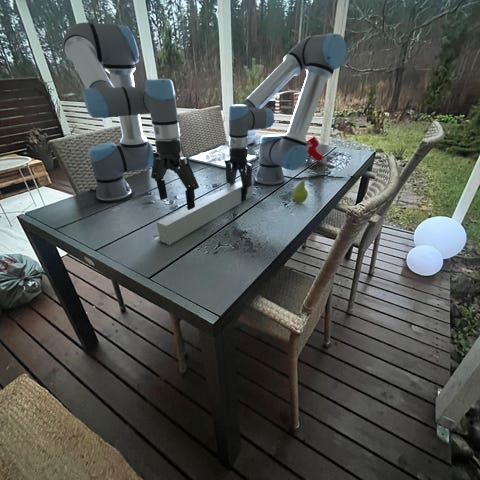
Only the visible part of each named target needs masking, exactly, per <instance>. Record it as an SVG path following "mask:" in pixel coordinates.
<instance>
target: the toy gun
mask: <svg viewBox="0 0 480 480" xmlns="http://www.w3.org/2000/svg"><path fill="white" fill-rule="evenodd" d="M306 141H307V144H306V148H307V153H308V156H307V159H308V158H309V157H312V158H313V159H314V160H315V161H316V163H319V162H321V161H323V158H324V154H323V153H321V152H320V151H319V150H318V149H317V147H319V144H320V141H319V140H318V138H317V137H316V136H315V135H313V136H312V137H310V138H309V139H306ZM317 160H319V162H318V161H317ZM320 160H321V161H320Z"/></svg>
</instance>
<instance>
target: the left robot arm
mask: <svg viewBox="0 0 480 480" xmlns="http://www.w3.org/2000/svg"><path fill="white" fill-rule="evenodd" d="M62 48H63V52H64V55H65V56H66V59H67V61H69V62H70V64H72V65H73V66H74V67H75V70H76V72H77V73H78V75H79V77H80V80H81V81H82V84H83V86H84V89H83V90H82V98H83V101H84V105H85V108H86V111H87V113H88V116H90V117H91V118H93V119H108V118H117V117H118V120H119V126H120V131H121V134H122V135H121V136H122V137H121V139H120V140H119V142H120V145H117V144H116V143H114V142H104V143H100V144H97V145H94V146H92V147H91V148H89V149H88V152H87V154H88V158H89V162H90V164H91V168H92V171H93V175H94V179H95V181H96V189H93V188H89V189H88V190H89V191H92V192H96V193H95V196H96V199H97V201H98V202H101V203H106V204H107V203H117V202H122V201H125V200H128V199H129V198H130V197H131V196H132V195H133V193H132V189H131V187H130V185H129V183H128V182H127V181H126V178H125V177H124V173H128V172H134V171H141V170H145V169H150V168H151V173H150V177H151V179H153V180H154V181H155V182H156V186H157V187H156V188H157V190H158V196H159V200H160V201H164V200H165V199H168V191H167V187H166V180H165V178H164V177H165V175H166V173H167V171H168V170H170V171H172V172H174V174H176V175H177V177H178V178H179V179H180V181H181V182H182V184H183V186H184V187H185V190H184V192H185V193H184V194H185V201H186V207H187V209H188V210H190V209H192V208H194V207H195V203H196V202H195V199H196V194H195V190H197V189H199V188H200V185H199V183H198V180H197V179H196V176H195V174H194V171H193V169H192V167H191V165H190V160H189V157H188V156H185V157H182V156H181V152H182V151H183V150H182V141H181V139H180V137H181V132H180V125H179V119H178V109H177V101H176V92H175V88H174V82H173V81H172V80H171V79H170V78H151V79H149V78H148V79H146V80H145V83H144V85H140V86H135V80H134V74H133V73H134V72H135V70H136V64H139V61H140V57H139V56H140V54H139V49H138V45H137V42H136V39H135V36H134V33H133V32H132V31H131V29H130V28H129V27H128V26H126V25H123V24H118V23H99V22H98V23H97V22H79V23H76V24H74V25H72V26H70V27H69V28H68V29H67V31H66V32H65V34H64V36H63V39H62ZM106 72H107V73H108V74H107V73H106ZM108 75H109V76H108ZM141 115H150V121H151V125H152V130H153V136H154V139H155V141H154V143H155V144H154V145H155V149H156V151H155V150H154V147H153V144H152V143H151V142H150V141H148V138H147V137H146V136H145V135H144V131H143V126H142V121H141ZM154 151H155V152H154Z"/></svg>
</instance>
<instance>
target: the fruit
mask: <svg viewBox="0 0 480 480" xmlns="http://www.w3.org/2000/svg"><path fill="white" fill-rule="evenodd" d="M310 176H311V175H310V174H309V175H307V176H306V177H307V178H305V179H301V181H300V182H298V184H297V185H296V186H295V187H294V188H293V190H292V191H291V198H292V200H293V201H294V202H295V203H297V204H301V203H304V202H305V201H306V200H307V198H308V196H309V195H308V190H307V189H306V184H305V183H306V180H308V179H310V178H309V177H310Z"/></svg>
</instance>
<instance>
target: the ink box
mask: <svg viewBox="0 0 480 480" xmlns="http://www.w3.org/2000/svg"><path fill="white" fill-rule="evenodd" d="M254 143H256V130H248V145H251V144H254Z"/></svg>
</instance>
